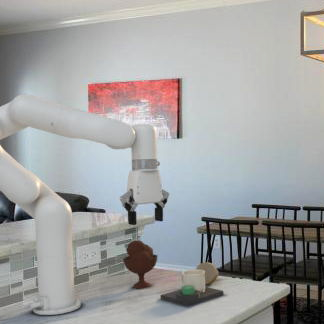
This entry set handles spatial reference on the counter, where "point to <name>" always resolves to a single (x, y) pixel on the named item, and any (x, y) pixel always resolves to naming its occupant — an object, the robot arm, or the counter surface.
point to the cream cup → (194, 279)
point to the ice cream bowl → (140, 261)
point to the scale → (191, 296)
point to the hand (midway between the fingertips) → (146, 222)
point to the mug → (208, 272)
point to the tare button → (188, 290)
